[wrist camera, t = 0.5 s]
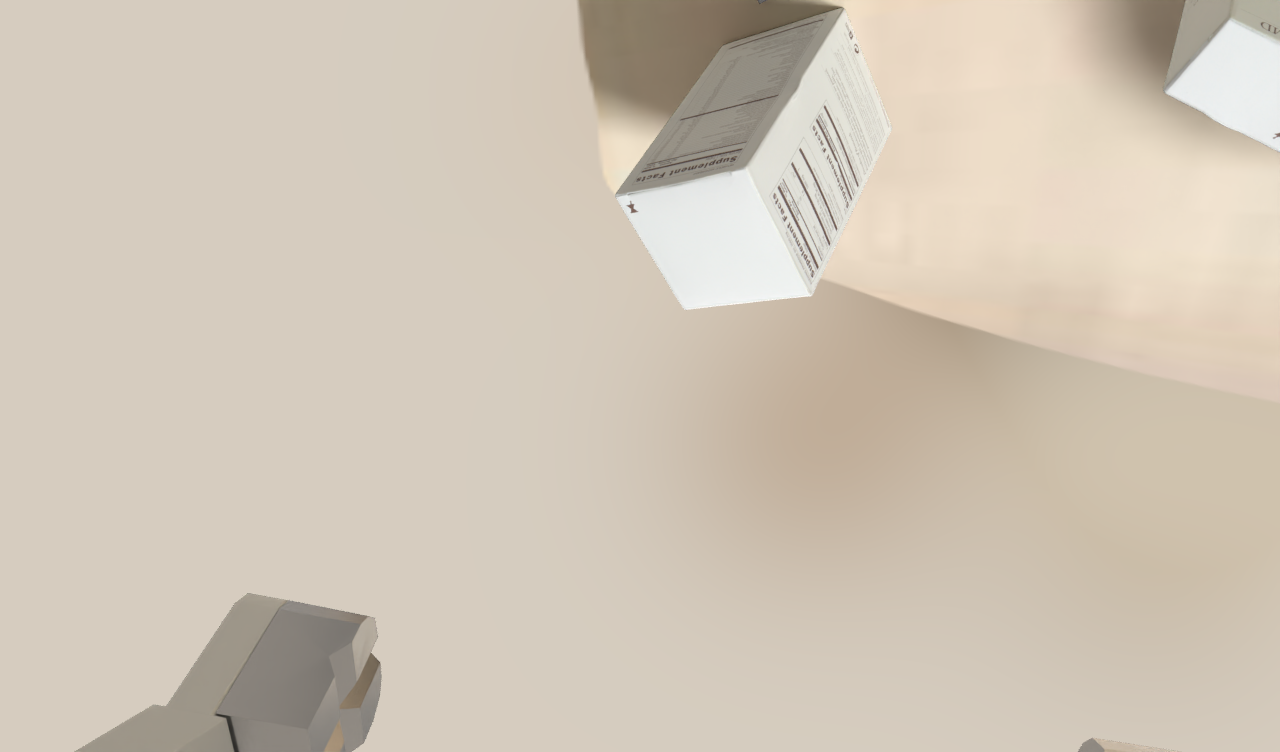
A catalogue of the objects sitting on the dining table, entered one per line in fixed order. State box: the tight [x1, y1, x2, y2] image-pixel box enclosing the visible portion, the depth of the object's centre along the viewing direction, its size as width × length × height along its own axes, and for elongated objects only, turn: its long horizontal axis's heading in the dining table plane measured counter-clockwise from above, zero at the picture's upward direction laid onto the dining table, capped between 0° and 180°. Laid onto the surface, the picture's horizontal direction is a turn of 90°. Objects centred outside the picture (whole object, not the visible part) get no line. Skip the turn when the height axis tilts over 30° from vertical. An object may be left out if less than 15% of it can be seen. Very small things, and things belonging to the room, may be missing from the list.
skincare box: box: [1163, 0, 1280, 152], centre depth 44 cm, size 6×4×12 cm
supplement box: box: [615, 8, 892, 310], centre depth 59 cm, size 10×9×17 cm
